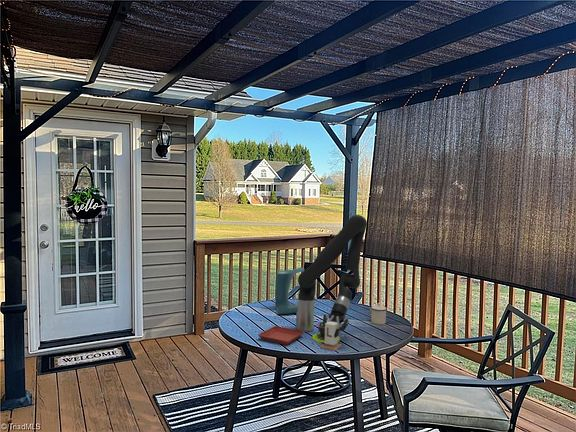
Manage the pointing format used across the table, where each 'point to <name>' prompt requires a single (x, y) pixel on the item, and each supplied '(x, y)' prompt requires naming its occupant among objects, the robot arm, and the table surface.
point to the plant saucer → (280, 335)
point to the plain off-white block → (330, 333)
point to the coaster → (331, 346)
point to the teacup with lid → (378, 314)
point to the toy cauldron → (321, 334)
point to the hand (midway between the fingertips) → (330, 335)
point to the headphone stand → (285, 291)
